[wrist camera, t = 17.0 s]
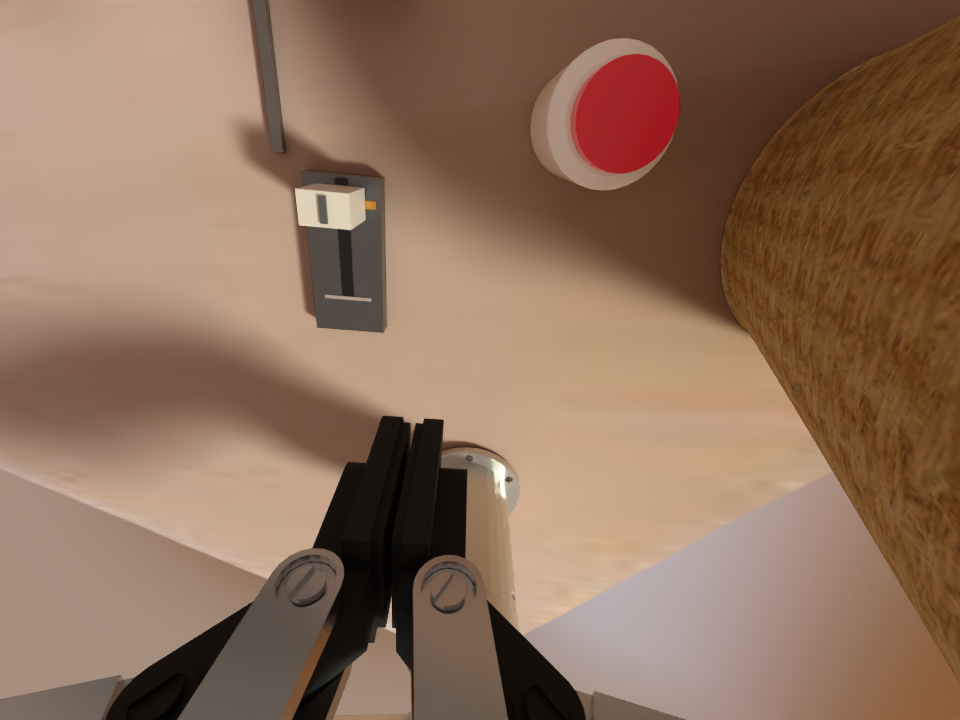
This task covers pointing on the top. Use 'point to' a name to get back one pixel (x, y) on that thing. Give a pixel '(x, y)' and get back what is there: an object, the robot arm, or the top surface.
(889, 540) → the basket
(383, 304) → the board
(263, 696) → the robot arm
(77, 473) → the top surface
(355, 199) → the fader cap
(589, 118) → the pill bottle
